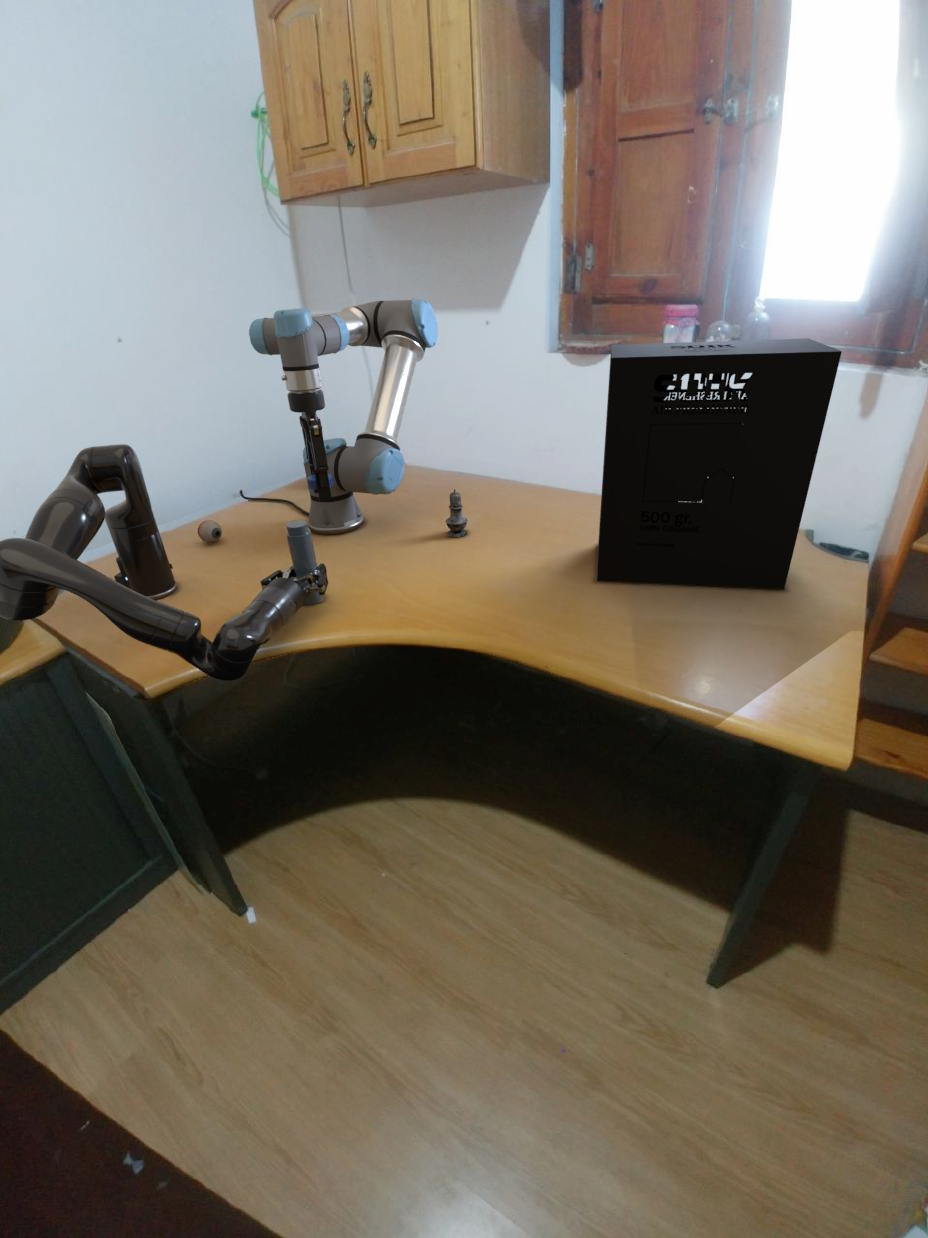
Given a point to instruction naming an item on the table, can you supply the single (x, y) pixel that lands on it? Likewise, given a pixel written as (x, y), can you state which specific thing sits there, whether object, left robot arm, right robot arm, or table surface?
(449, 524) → the salt shaker
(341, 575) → the table surface
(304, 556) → the jar
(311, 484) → the lid
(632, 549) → the cardboard box
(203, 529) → the eyeball
